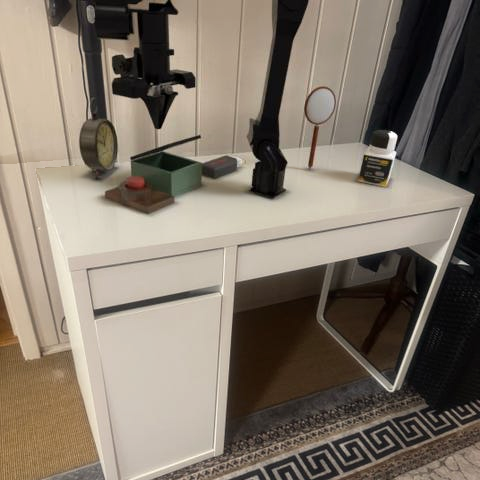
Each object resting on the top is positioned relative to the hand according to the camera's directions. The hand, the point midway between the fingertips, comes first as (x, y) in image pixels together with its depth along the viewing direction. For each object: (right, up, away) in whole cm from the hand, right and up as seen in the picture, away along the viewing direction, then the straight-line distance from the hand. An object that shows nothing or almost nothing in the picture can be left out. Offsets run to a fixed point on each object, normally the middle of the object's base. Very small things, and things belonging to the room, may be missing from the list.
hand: (157, 128), depth 97 cm
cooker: (+1, -9, +9) cm, 13 cm away
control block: (-4, -15, +1) cm, 15 cm away
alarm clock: (-16, -6, +12) cm, 20 cm away
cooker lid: (+1, -3, +4) cm, 5 cm away
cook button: (-4, -13, -2) cm, 14 cm away
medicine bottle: (+52, -4, +23) cm, 57 cm away
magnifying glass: (+36, 0, +26) cm, 44 cm away
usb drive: (+12, -3, +20) cm, 23 cm away
